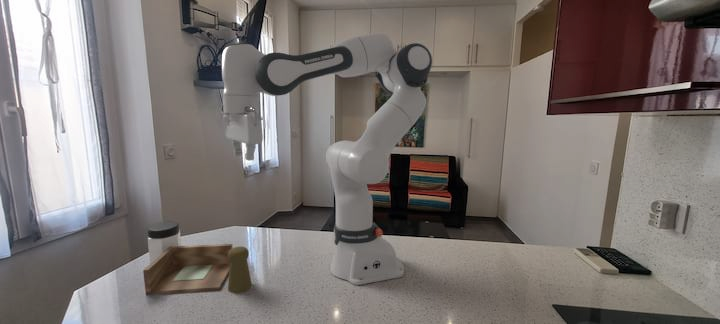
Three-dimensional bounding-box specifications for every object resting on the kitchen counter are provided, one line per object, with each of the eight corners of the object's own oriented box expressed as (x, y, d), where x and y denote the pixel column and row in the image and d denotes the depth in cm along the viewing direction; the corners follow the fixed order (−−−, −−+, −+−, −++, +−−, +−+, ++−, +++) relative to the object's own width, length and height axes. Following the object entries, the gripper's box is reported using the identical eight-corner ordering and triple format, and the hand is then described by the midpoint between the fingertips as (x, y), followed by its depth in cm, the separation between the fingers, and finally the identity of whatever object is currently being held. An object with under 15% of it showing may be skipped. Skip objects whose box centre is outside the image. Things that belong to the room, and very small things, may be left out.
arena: (233, 264, 94) (232, 243, 93) (219, 289, 80) (217, 266, 79) (171, 267, 91) (169, 246, 90) (145, 294, 77) (143, 270, 76)
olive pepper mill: (243, 294, 78) (241, 254, 77) (223, 291, 79) (220, 252, 78) (256, 282, 84) (254, 245, 82) (236, 279, 85) (234, 242, 84)
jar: (154, 257, 97) (151, 222, 95) (183, 253, 100) (180, 219, 98) (147, 271, 89) (143, 232, 87) (179, 266, 92) (176, 229, 90)
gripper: (268, 107, 75) (269, 162, 77) (241, 107, 90) (243, 152, 93) (242, 106, 71) (244, 164, 73) (218, 106, 86) (221, 154, 89)
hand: (243, 157), depth 83 cm, fingers open, 8 cm apart
